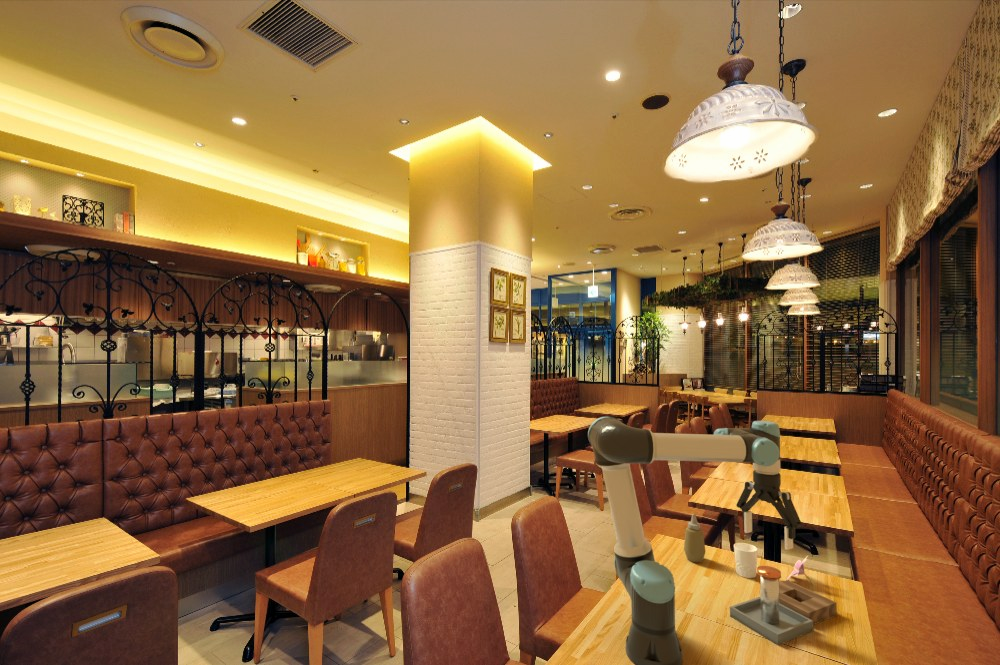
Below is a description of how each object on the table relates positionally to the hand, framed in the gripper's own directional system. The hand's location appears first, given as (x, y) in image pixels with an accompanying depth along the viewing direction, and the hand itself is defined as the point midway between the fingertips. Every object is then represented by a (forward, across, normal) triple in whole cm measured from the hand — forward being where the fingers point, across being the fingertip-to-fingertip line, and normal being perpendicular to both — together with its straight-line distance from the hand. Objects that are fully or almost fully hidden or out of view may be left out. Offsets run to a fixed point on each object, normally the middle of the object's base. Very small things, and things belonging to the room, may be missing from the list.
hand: (767, 540), depth 146 cm
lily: (+26, +13, -34) cm, 44 cm away
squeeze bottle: (+26, +42, -13) cm, 51 cm away
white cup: (+26, +25, -21) cm, 42 cm away
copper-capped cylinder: (+24, 0, 0) cm, 25 cm away
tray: (+26, 0, 0) cm, 26 cm away
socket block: (+25, +2, -16) cm, 30 cm away
